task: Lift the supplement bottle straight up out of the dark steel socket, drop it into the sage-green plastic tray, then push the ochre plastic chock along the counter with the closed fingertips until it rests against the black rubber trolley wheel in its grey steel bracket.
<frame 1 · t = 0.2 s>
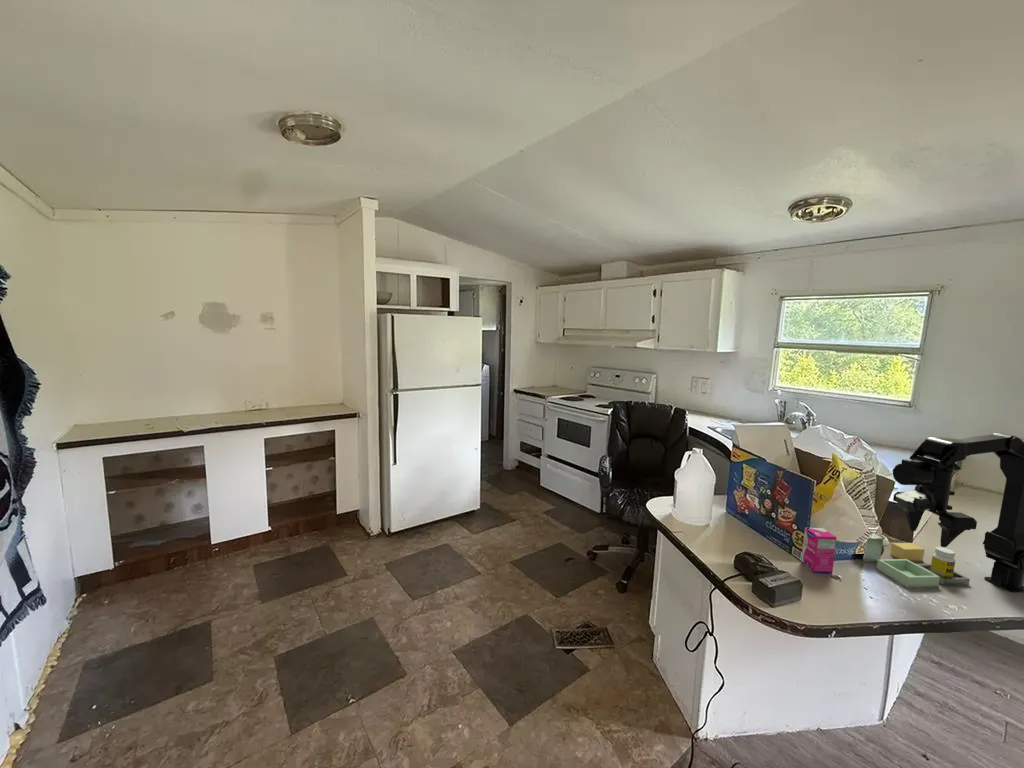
hand: (927, 538, 118), 14 cm above the worktop, fingers open, 9 cm apart
supplement bottle: (940, 577, 125), resting in pin socket
tray: (906, 577, 124), on the worktop
pin socket: (940, 577, 125), on the worktop
supplement box: (816, 568, 128), on the worktop
chock: (906, 557, 136), on the worktop
hook: (874, 540, 148), on the worktop
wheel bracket: (870, 557, 135), on the worktop
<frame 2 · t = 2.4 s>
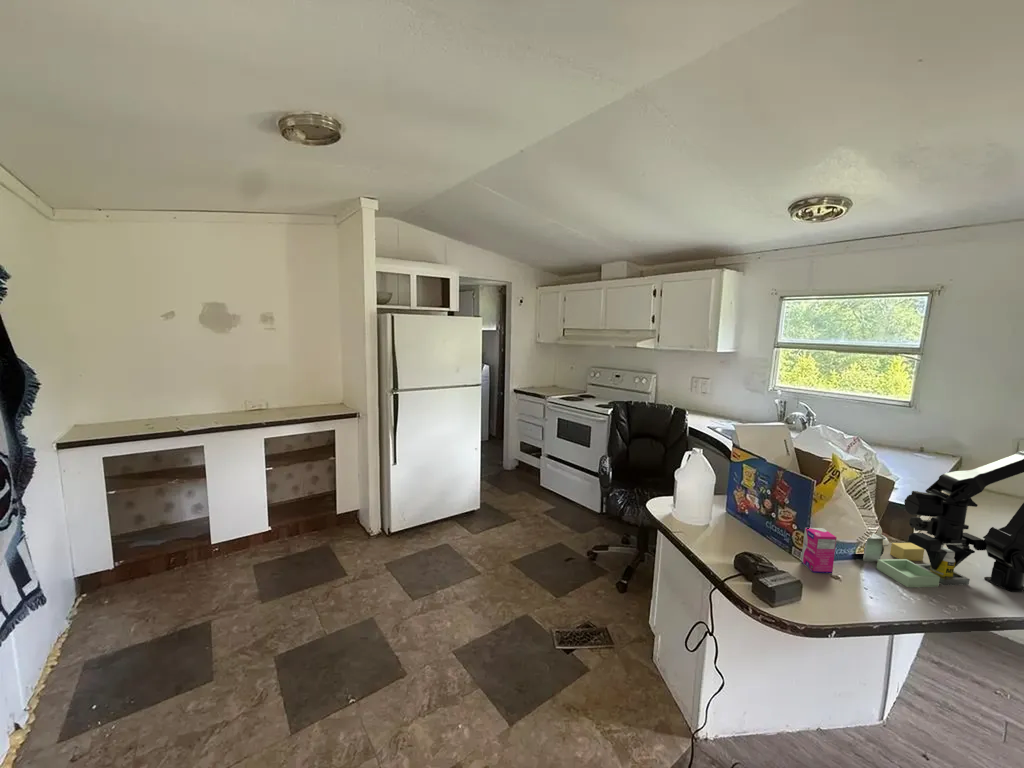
hand: (942, 568, 125), 3 cm above the worktop, fingers closed on supplement bottle, 5 cm apart
supplement bottle: (940, 577, 125), resting in pin socket, touching gripper
everything else where it was.
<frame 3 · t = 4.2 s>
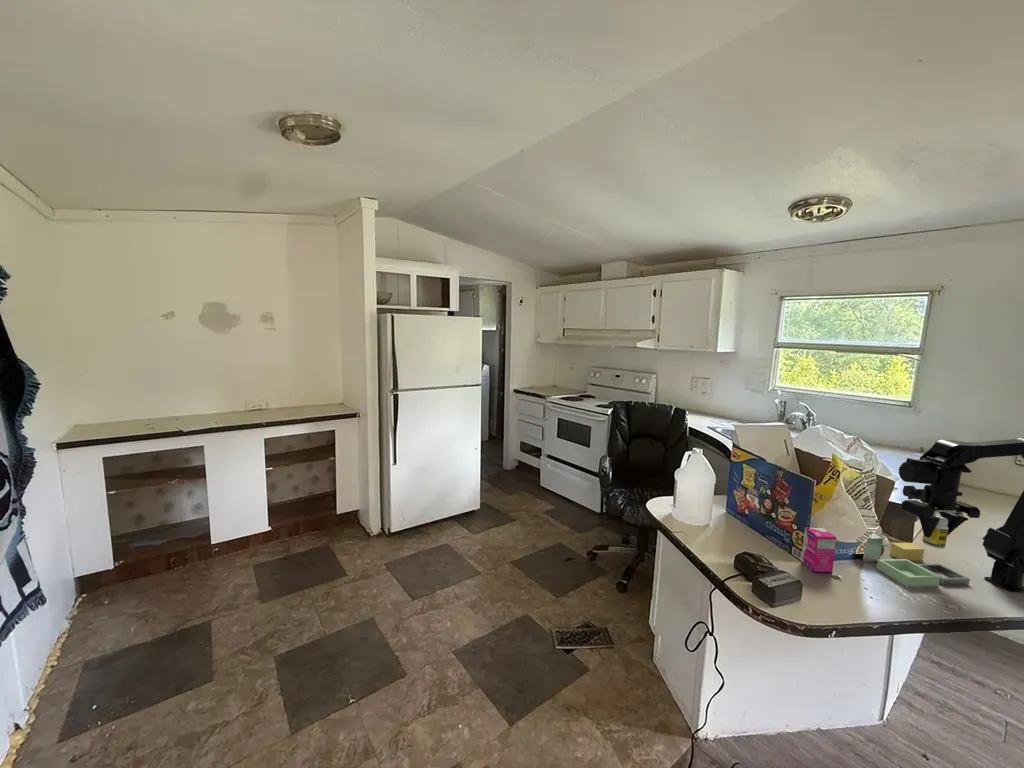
hand: (934, 537, 123), 12 cm above the worktop, fingers closed on supplement bottle, 5 cm apart
supplement bottle: (933, 545, 124), point 10 cm above the worktop, touching gripper
everything else where it was.
when the fingers open (4 cm above the worktop, at t = 6.4 s): supplement bottle drops 1 cm, resting on tray.
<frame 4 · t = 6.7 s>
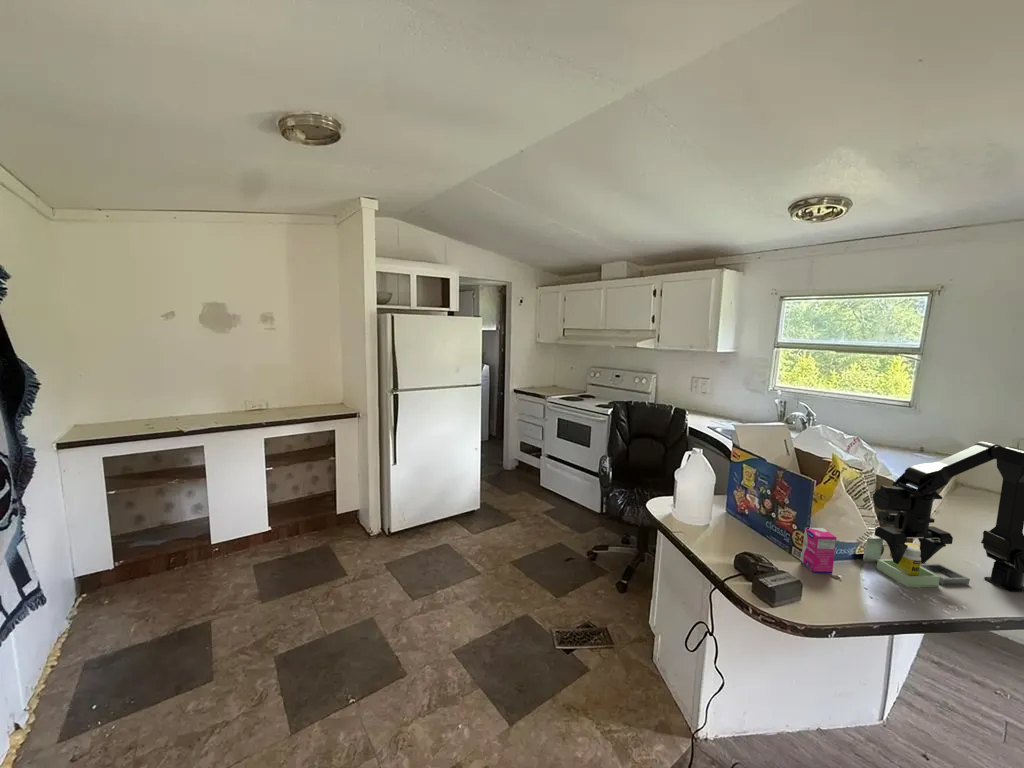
hand: (908, 563, 124), 4 cm above the worktop, fingers open, 8 cm apart
supplement bottle: (906, 576, 124), resting on tray
everything else where it was.
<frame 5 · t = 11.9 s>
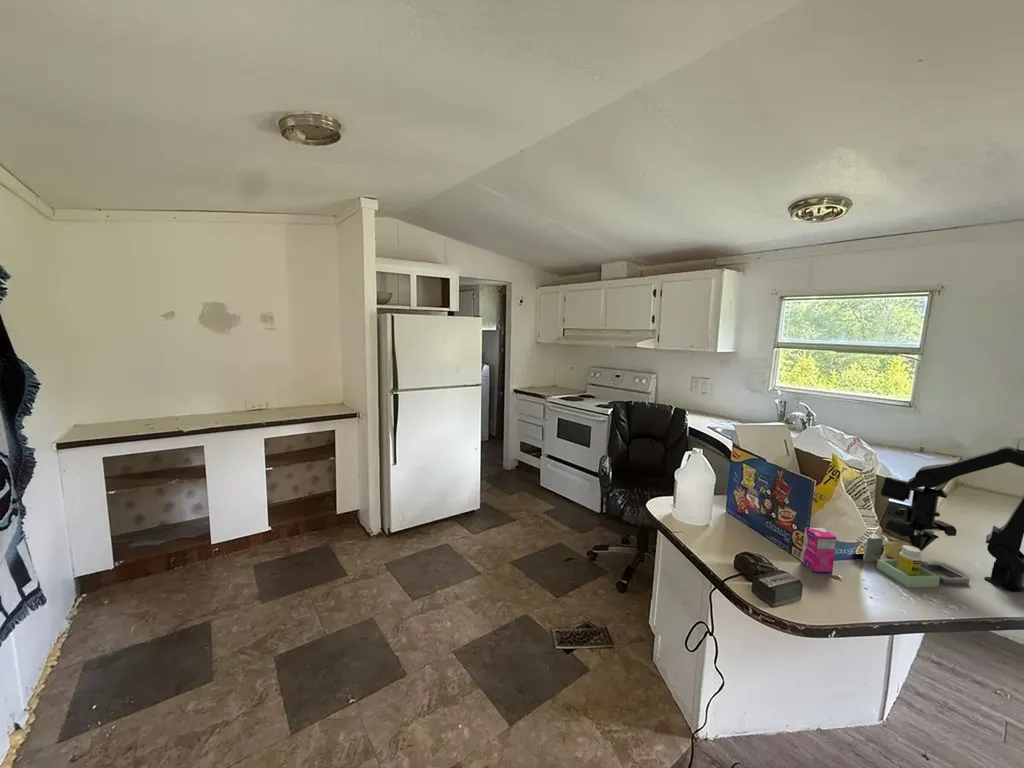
hand: (916, 553, 136), 1 cm above the worktop, fingers closed
chock: (900, 557, 136), on the worktop, touching gripper
everything else where it was.
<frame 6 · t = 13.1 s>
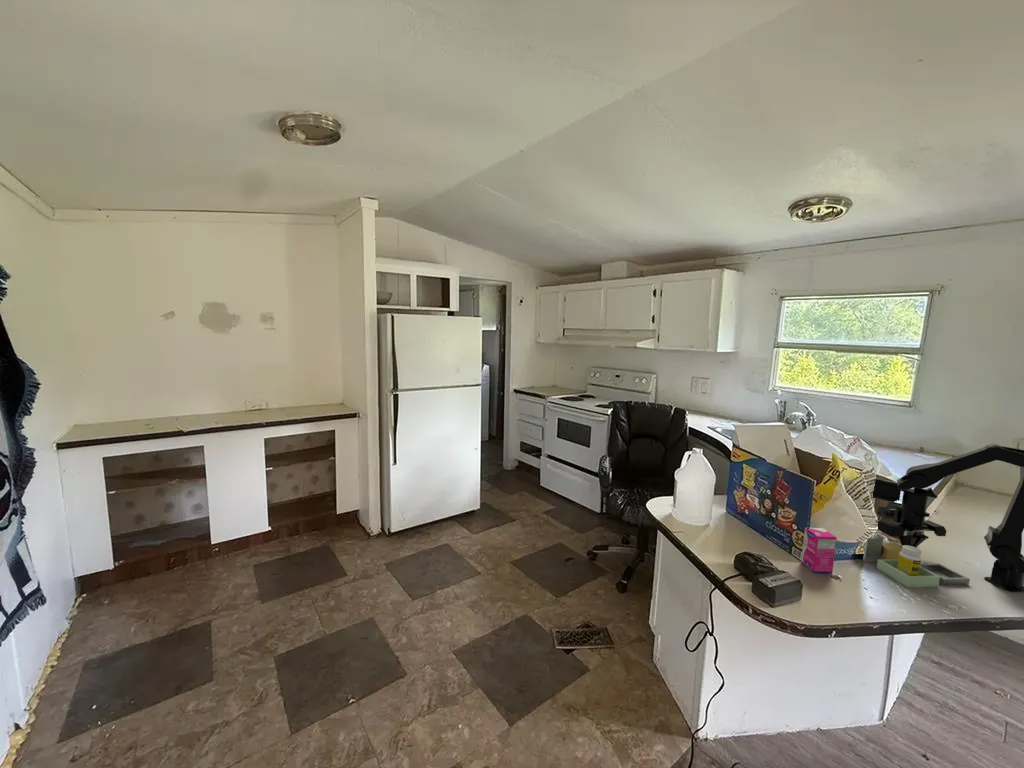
hand: (906, 553, 136), 1 cm above the worktop, fingers closed
chock: (890, 557, 136), on the worktop
everything else where it was.
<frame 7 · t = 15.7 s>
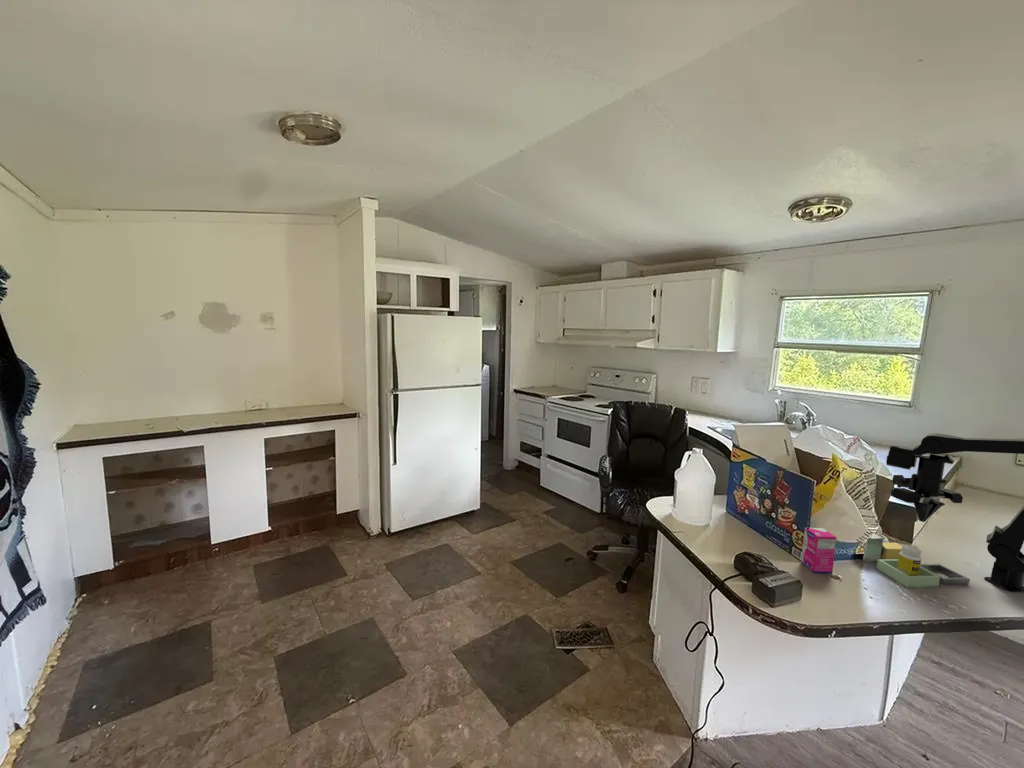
hand: (921, 521, 135), 12 cm above the worktop, fingers closed
nothing on the worktop moved.
at the end: supplement bottle inside the target area on the tray (0.1 cm from its centre), point 0.4 cm above the tray's base; supplement bottle tilted 0°; chock 0.3 cm from the target spot, on the worktop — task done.
